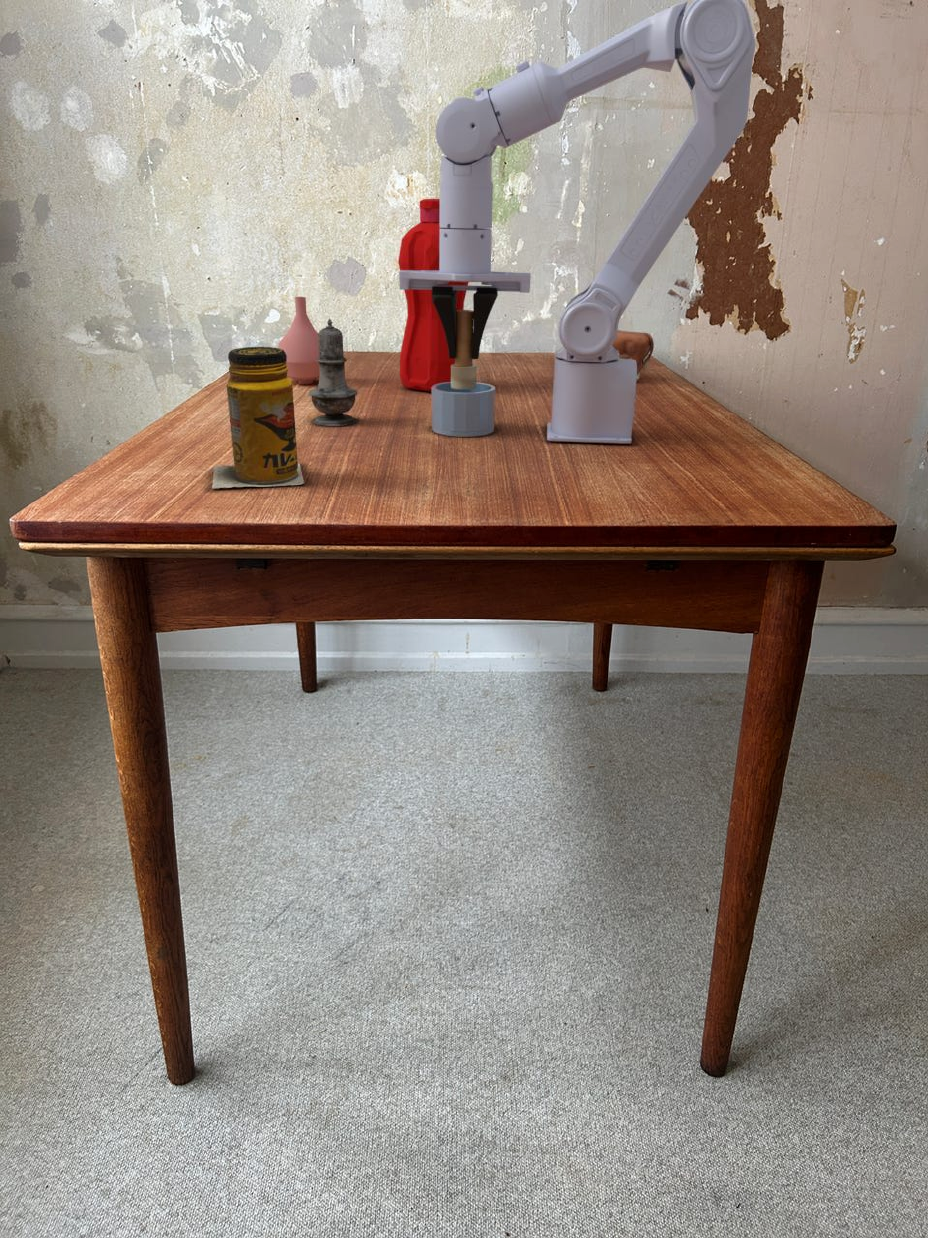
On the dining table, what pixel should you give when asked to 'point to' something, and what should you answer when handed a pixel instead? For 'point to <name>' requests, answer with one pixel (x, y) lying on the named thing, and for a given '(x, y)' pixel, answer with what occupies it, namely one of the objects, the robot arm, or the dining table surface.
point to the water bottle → (424, 306)
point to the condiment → (260, 421)
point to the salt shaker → (332, 381)
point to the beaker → (463, 410)
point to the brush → (464, 353)
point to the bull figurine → (634, 348)
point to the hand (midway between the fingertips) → (463, 357)
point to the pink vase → (301, 346)
